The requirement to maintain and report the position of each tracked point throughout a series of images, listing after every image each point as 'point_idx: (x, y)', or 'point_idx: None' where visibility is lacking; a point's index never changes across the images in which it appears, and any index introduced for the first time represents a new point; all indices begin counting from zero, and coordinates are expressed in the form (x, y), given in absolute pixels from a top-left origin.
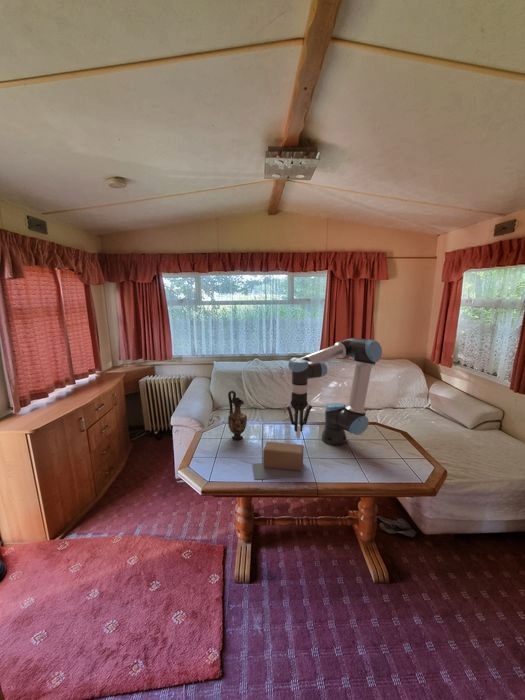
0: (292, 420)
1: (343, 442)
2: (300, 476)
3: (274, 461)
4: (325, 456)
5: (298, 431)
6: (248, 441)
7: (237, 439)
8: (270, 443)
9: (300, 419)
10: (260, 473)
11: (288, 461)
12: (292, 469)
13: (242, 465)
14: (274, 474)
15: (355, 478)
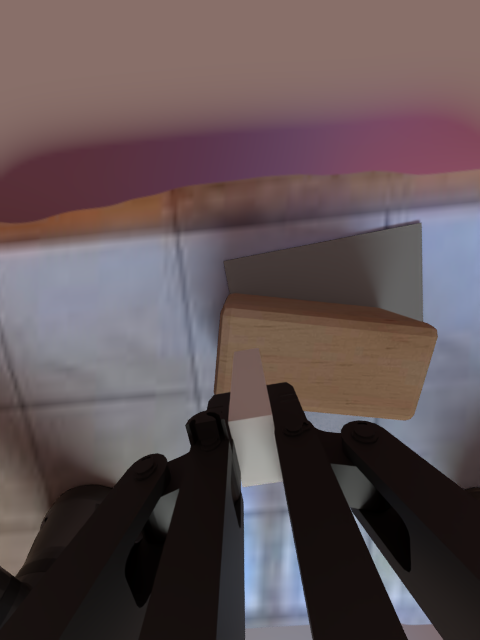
0: (420, 490)
1: (58, 500)
2: (234, 260)
3: (351, 308)
4: (133, 409)
5: (253, 377)
6: None
7: (475, 494)
8: (396, 398)
9: (224, 541)
10: (394, 266)
11: (289, 303)
12: (265, 296)
13: (461, 320)
14: (337, 264)
15: (25, 272)
